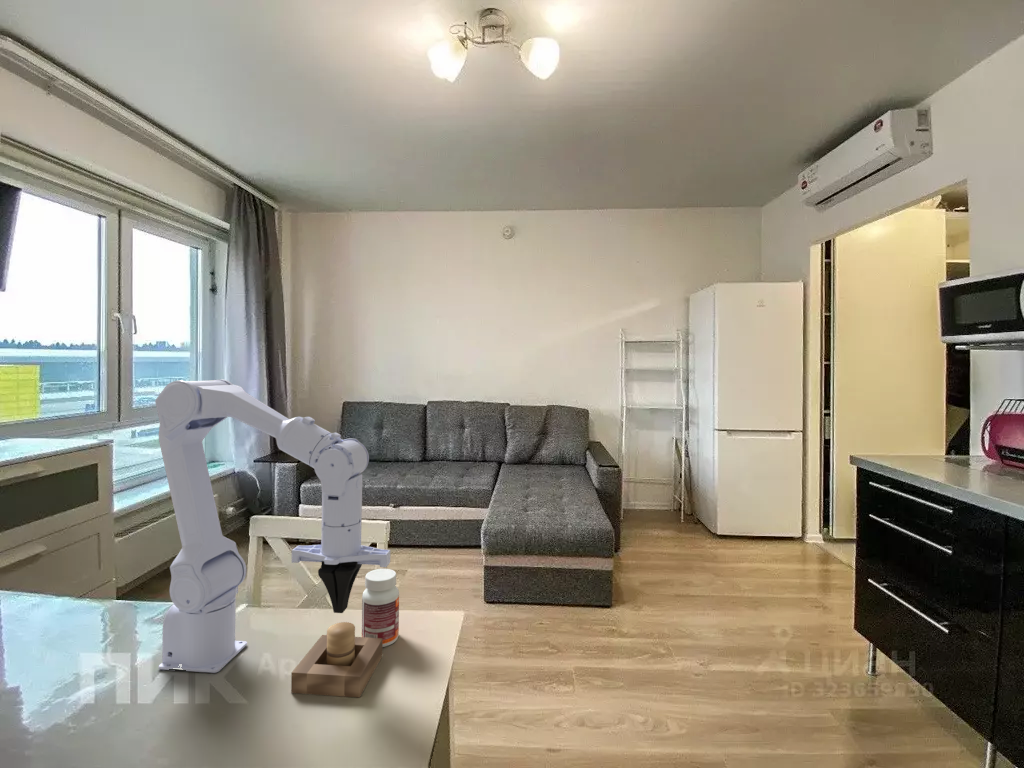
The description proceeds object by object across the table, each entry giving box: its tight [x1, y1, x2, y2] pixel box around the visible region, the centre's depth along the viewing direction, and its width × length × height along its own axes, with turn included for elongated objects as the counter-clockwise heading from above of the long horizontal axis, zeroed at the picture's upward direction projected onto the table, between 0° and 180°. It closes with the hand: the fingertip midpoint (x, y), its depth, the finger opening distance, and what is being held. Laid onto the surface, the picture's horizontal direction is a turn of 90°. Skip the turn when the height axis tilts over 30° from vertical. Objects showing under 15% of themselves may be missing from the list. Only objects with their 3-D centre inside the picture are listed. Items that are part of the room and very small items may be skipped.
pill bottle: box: [361, 568, 400, 648], centre depth 85 cm, size 6×6×11 cm
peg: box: [326, 621, 356, 666], centre depth 76 cm, size 4×4×7 cm
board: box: [290, 634, 383, 699], centre depth 76 cm, size 10×10×3 cm
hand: (340, 609), depth 75 cm, fingers closed
